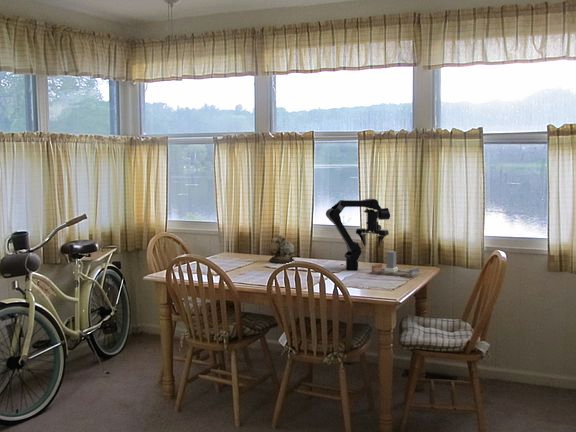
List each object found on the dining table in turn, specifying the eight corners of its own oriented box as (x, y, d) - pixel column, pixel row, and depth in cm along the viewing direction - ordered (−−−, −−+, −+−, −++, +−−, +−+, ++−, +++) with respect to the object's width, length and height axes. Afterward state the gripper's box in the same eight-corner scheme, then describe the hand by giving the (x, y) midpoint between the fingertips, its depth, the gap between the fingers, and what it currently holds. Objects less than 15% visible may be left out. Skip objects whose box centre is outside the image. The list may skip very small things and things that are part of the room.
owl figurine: (264, 263, 366) (264, 235, 365) (270, 260, 378) (270, 233, 376) (292, 264, 361) (292, 236, 360) (298, 261, 372) (298, 234, 371)
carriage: (384, 271, 331) (384, 252, 330) (388, 270, 336) (388, 250, 335) (393, 272, 328) (394, 252, 327) (397, 271, 333) (398, 251, 332)
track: (371, 273, 333) (371, 265, 332) (378, 270, 341) (378, 263, 341) (412, 278, 320) (412, 269, 320) (418, 275, 328) (419, 267, 328)
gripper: (392, 219, 347) (392, 246, 349) (363, 218, 357) (363, 243, 359) (384, 221, 338) (384, 248, 339) (355, 219, 348) (355, 246, 350)
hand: (372, 246), depth 347 cm, fingers open, 9 cm apart
